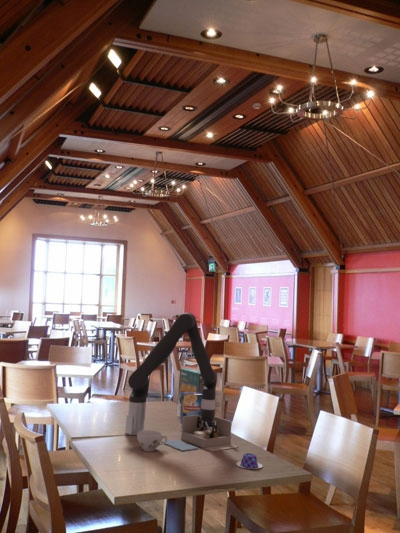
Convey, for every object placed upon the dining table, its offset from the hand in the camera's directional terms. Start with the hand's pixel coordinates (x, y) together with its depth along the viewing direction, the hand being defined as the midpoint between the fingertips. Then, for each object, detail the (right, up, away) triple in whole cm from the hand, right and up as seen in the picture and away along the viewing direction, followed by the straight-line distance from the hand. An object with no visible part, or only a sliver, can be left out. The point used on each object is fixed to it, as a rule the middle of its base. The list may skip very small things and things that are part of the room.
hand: (206, 438), depth 294 cm
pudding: (+19, -1, -38) cm, 43 cm away
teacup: (-27, +1, -21) cm, 34 cm away
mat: (-14, 0, -11) cm, 17 cm away
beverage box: (-9, -3, +17) cm, 19 cm away
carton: (+2, -2, -3) cm, 3 cm away
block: (-1, -1, 0) cm, 1 cm away
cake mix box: (-9, -5, +54) cm, 55 cm away
